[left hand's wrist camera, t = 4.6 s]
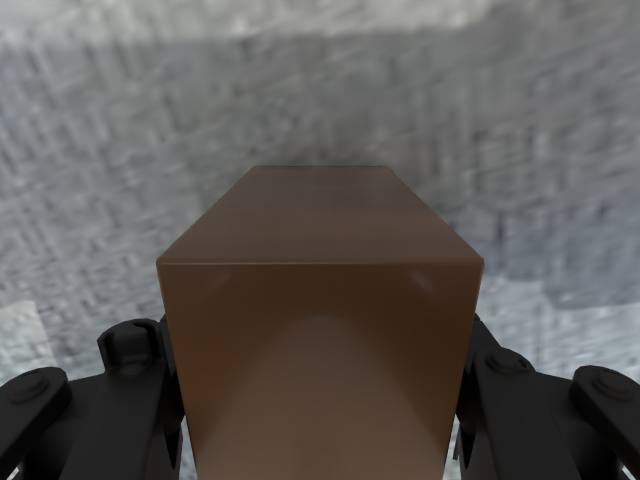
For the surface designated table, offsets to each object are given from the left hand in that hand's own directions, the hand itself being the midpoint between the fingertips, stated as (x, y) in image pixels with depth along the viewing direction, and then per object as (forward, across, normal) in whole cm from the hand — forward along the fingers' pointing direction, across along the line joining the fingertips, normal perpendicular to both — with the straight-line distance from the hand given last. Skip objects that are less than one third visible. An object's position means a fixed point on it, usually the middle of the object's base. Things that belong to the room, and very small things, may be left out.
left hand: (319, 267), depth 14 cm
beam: (+1, 0, -23) cm, 23 cm away
